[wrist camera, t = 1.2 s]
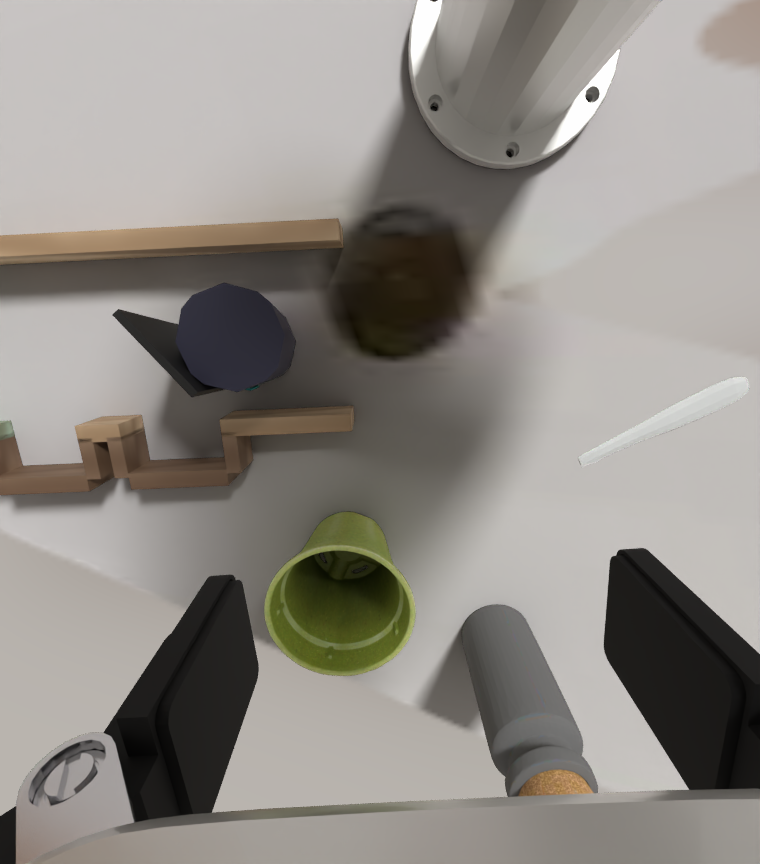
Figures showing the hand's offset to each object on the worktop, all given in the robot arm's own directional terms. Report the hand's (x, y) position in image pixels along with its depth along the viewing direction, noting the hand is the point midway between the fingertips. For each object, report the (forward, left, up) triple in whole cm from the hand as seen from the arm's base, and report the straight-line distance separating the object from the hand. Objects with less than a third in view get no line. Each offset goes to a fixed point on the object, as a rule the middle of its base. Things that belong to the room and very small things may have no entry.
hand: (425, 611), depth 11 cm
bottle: (+19, +8, -23) cm, 31 cm away
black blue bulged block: (-7, -10, -23) cm, 26 cm away
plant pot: (+10, -4, -23) cm, 25 cm away
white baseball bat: (+5, +14, -23) cm, 27 cm away
